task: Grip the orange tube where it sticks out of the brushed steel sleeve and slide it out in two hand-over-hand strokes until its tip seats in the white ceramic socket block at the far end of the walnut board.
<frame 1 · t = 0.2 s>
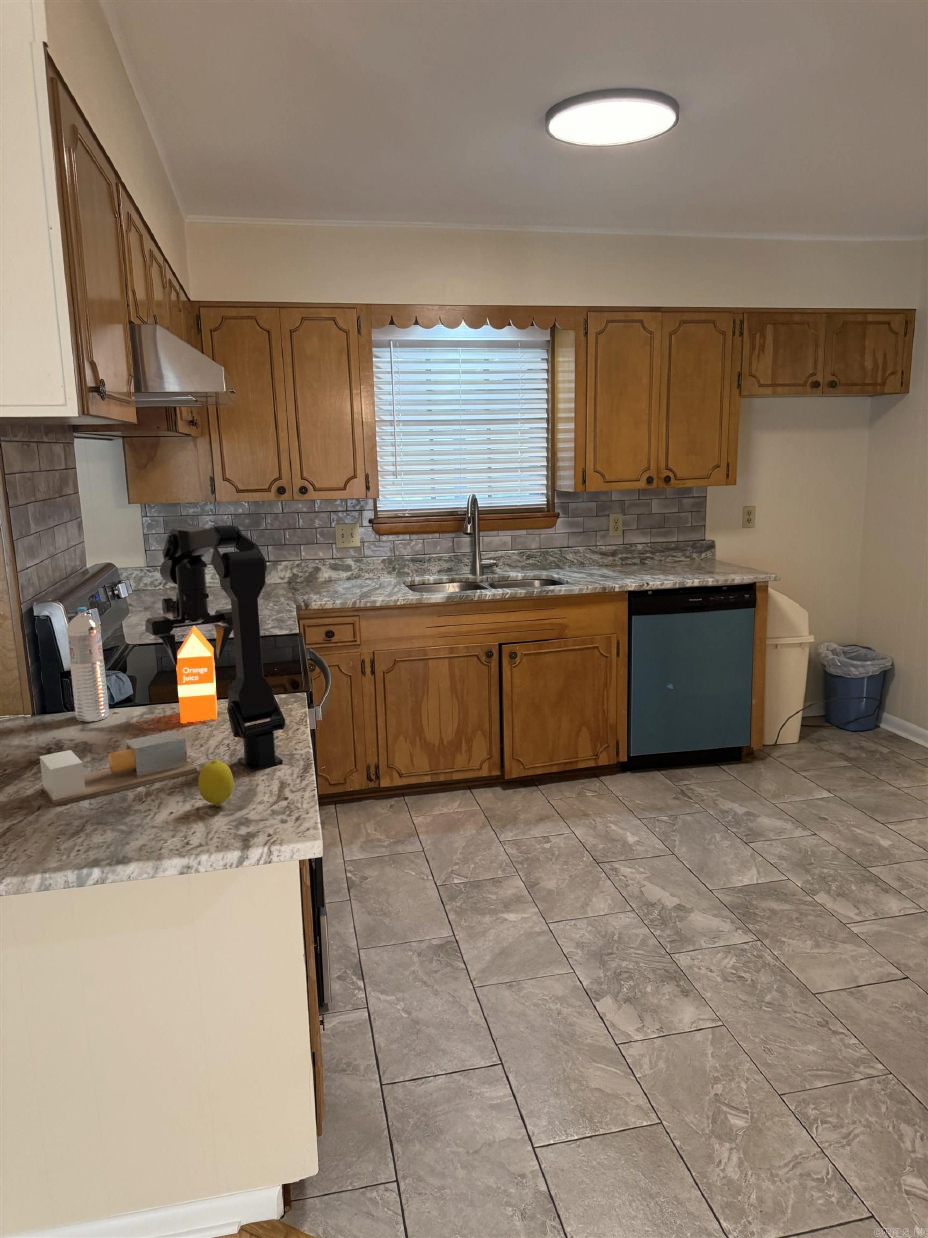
hand: (197, 661, 175), 15 cm above the countertop, tool pointing down, fingers open, 9 cm apart
steel sleeve: (158, 771, 153), resting on walnut board
orange juice: (199, 717, 186), on the countertop
white socket: (64, 793, 143), resting on walnut board
orange tube: (148, 755, 151), point 3 cm above the countertop, slide at 0.0 cm
walnut board: (121, 780, 149), on the countertop
lemon: (217, 807, 138), on the countertop
water bottle: (93, 719, 185), on the countertop
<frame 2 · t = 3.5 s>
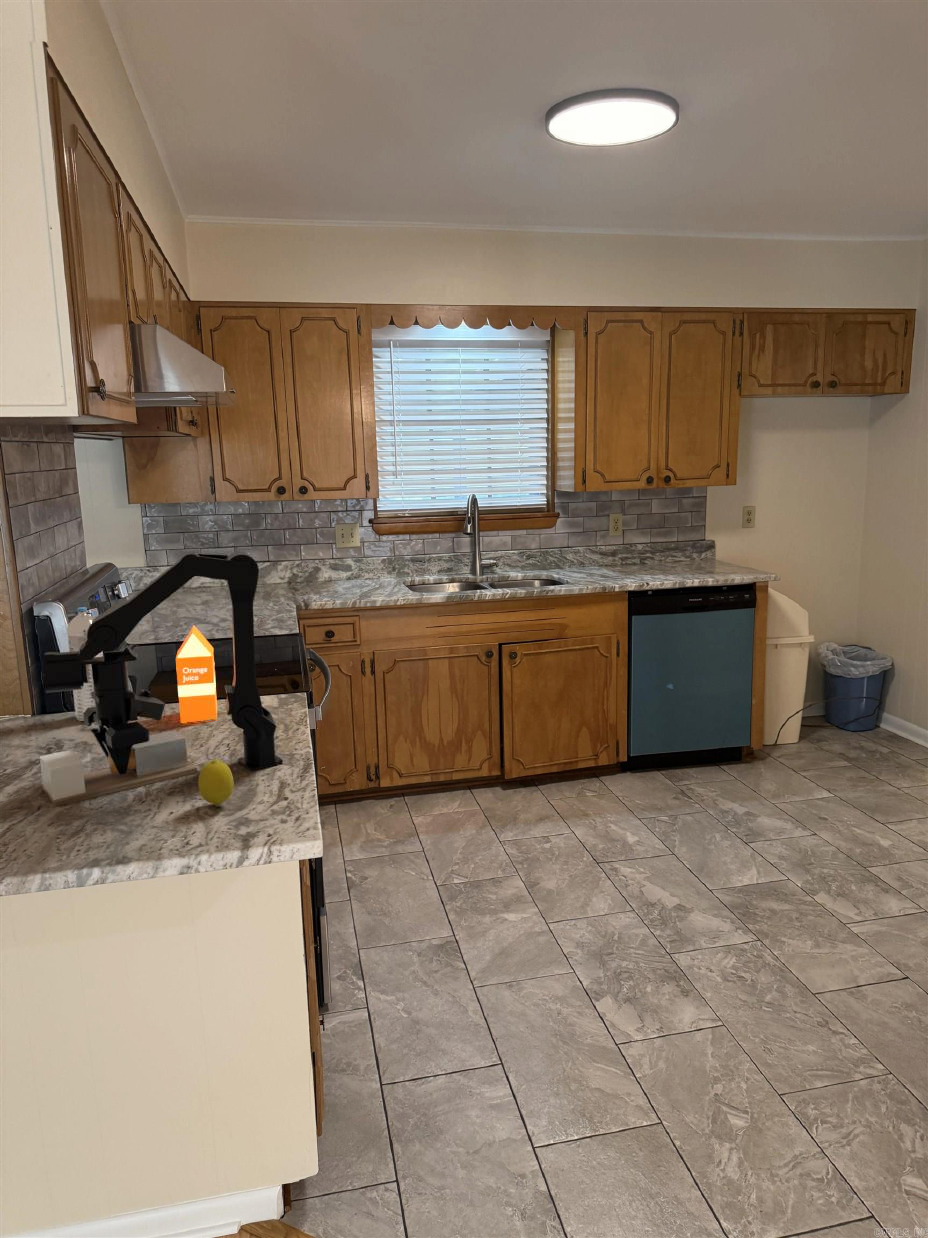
hand: (119, 770, 149), 2 cm above the countertop, tool pointing down, fingers closed on orange tube, 4 cm apart
orange tube: (148, 755, 151), point 4 cm above the countertop, slide at 0.0 cm, touching gripper
everything else where it was.
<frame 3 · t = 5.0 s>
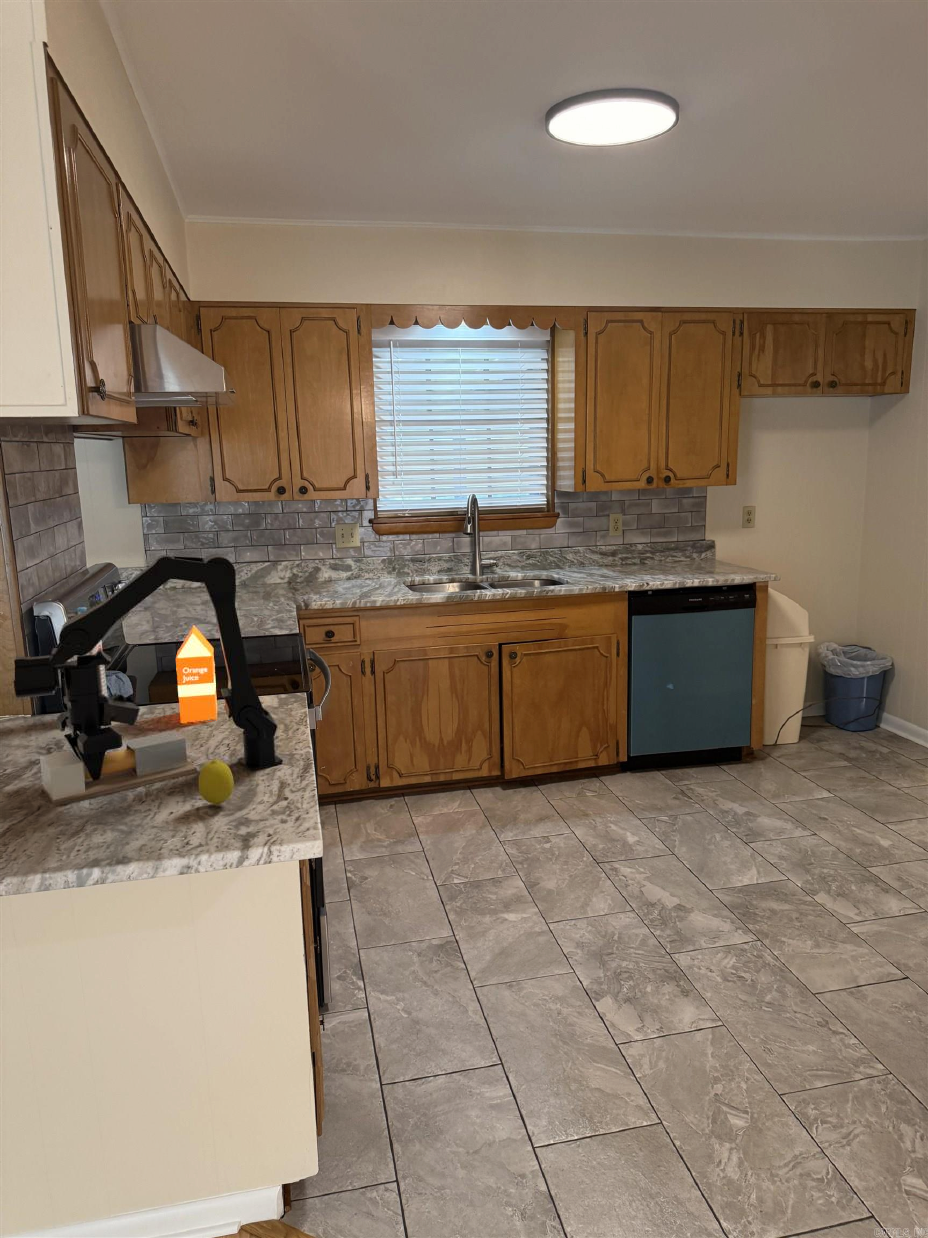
hand: (93, 776, 146), 2 cm above the countertop, tool pointing down, fingers closed on orange tube, 4 cm apart
orange tube: (122, 760, 149), point 3 cm above the countertop, slide at 4.4 cm, touching gripper
everything else where it was.
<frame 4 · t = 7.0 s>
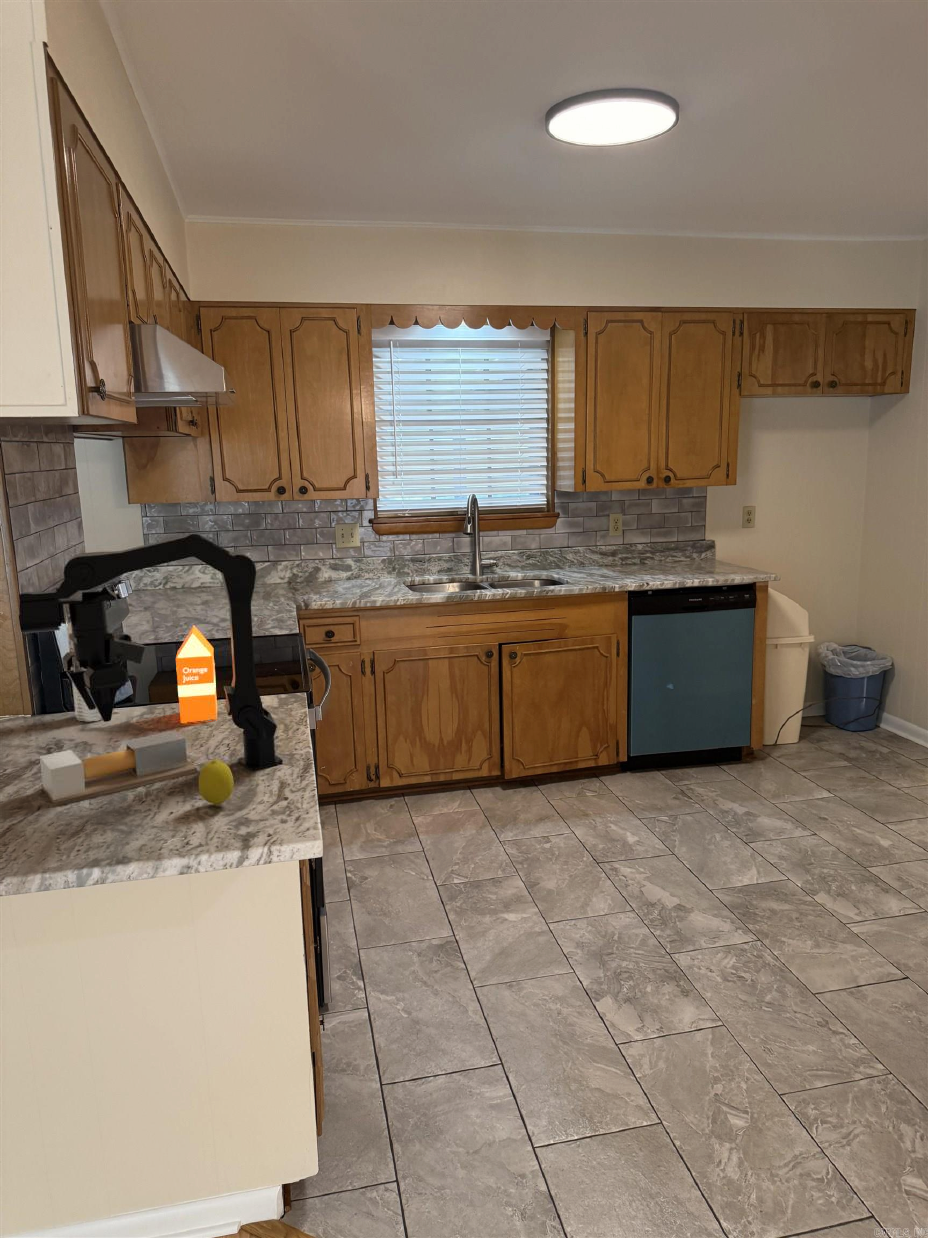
hand: (99, 715, 145), 13 cm above the countertop, tool pointing down, fingers open, 9 cm apart
orange tube: (122, 760, 149), point 3 cm above the countertop, slide at 4.5 cm
everything else where it was.
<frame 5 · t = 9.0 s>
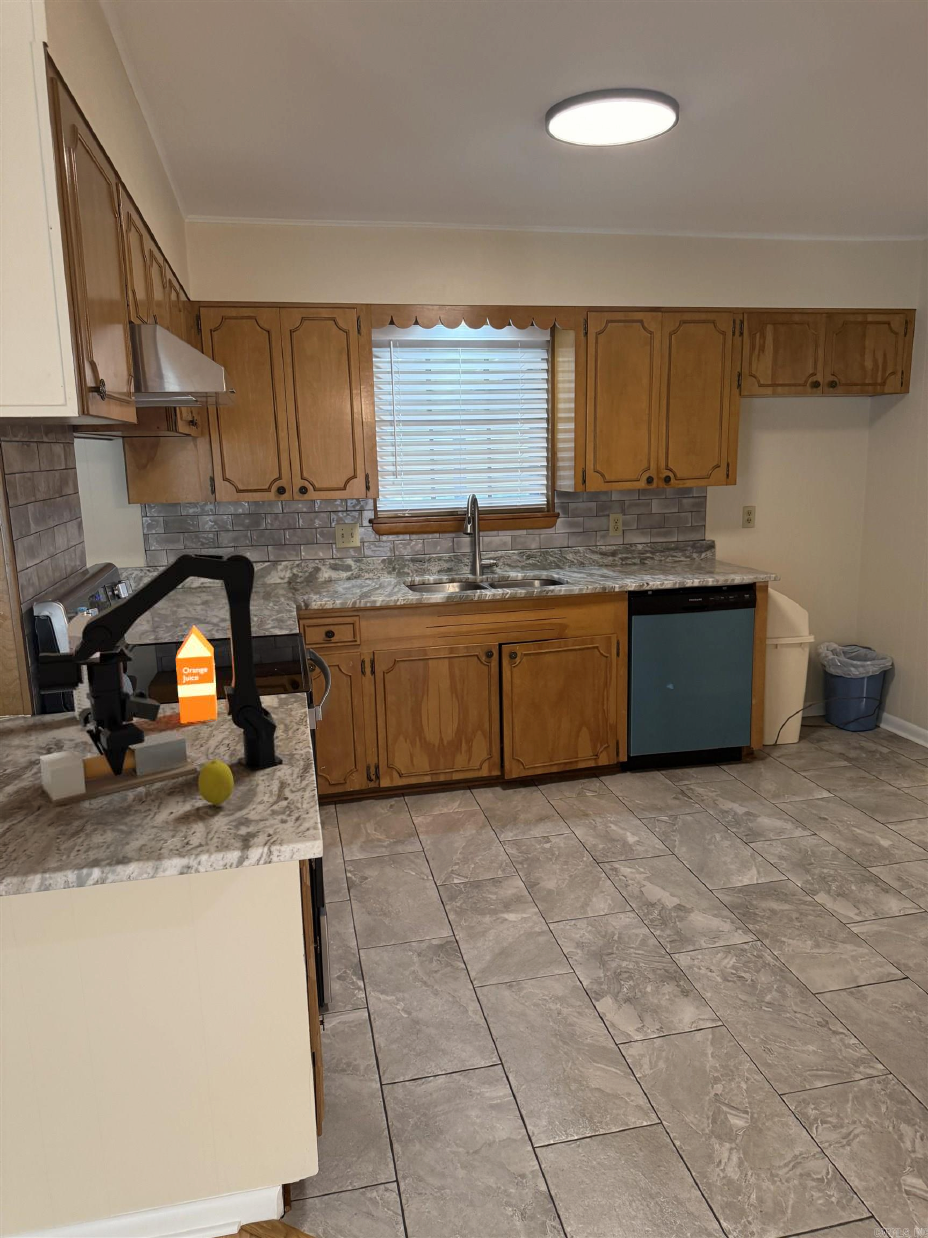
hand: (114, 771, 148), 2 cm above the countertop, tool pointing down, fingers closed on orange tube, 4 cm apart
orange tube: (122, 760, 149), point 3 cm above the countertop, slide at 4.5 cm, touching gripper
everything else where it was.
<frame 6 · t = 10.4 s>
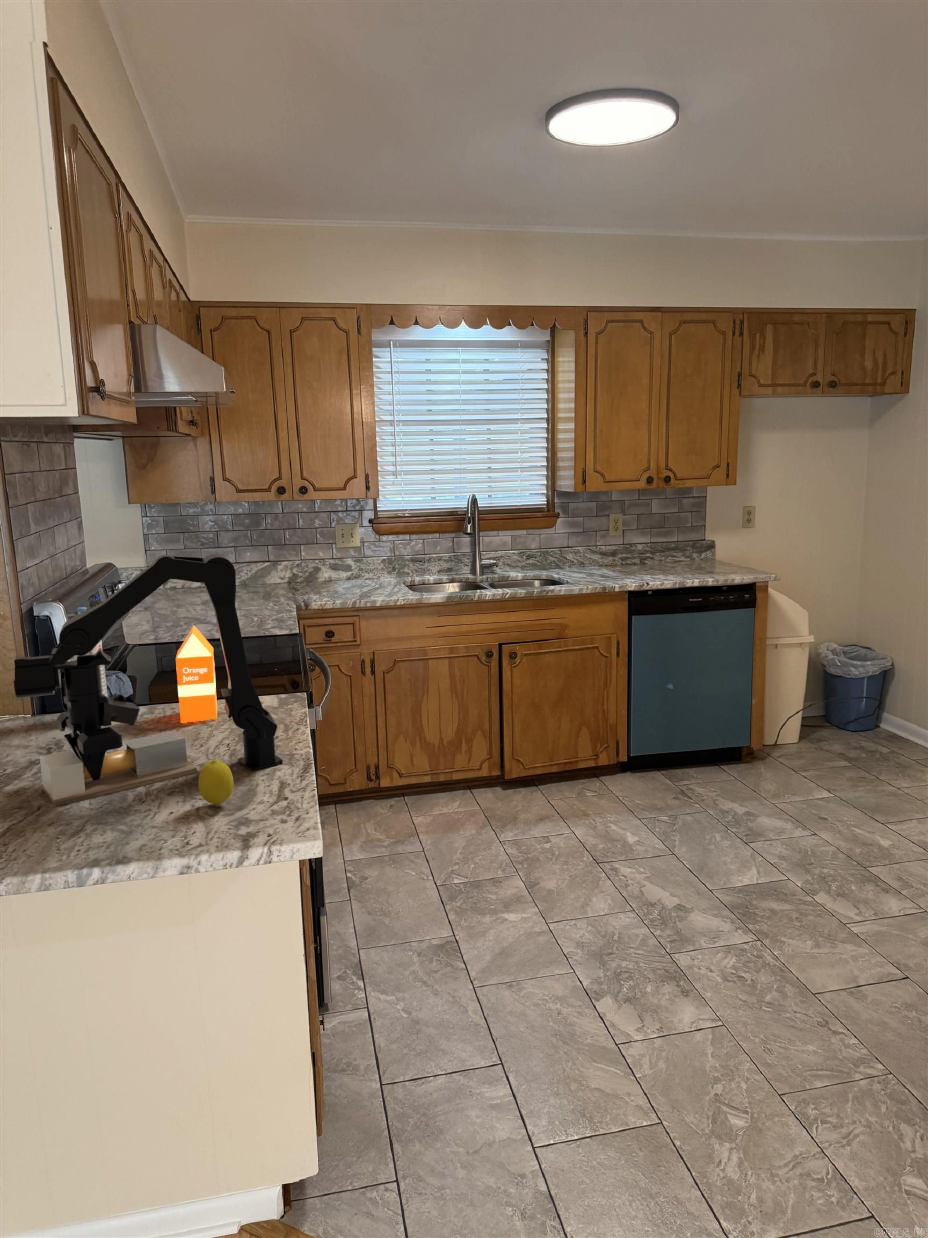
hand: (93, 776, 146), 2 cm above the countertop, tool pointing down, fingers closed on orange tube, 4 cm apart
orange tube: (101, 765, 147), point 3 cm above the countertop, slide at 8.1 cm, touching gripper
everything else where it was.
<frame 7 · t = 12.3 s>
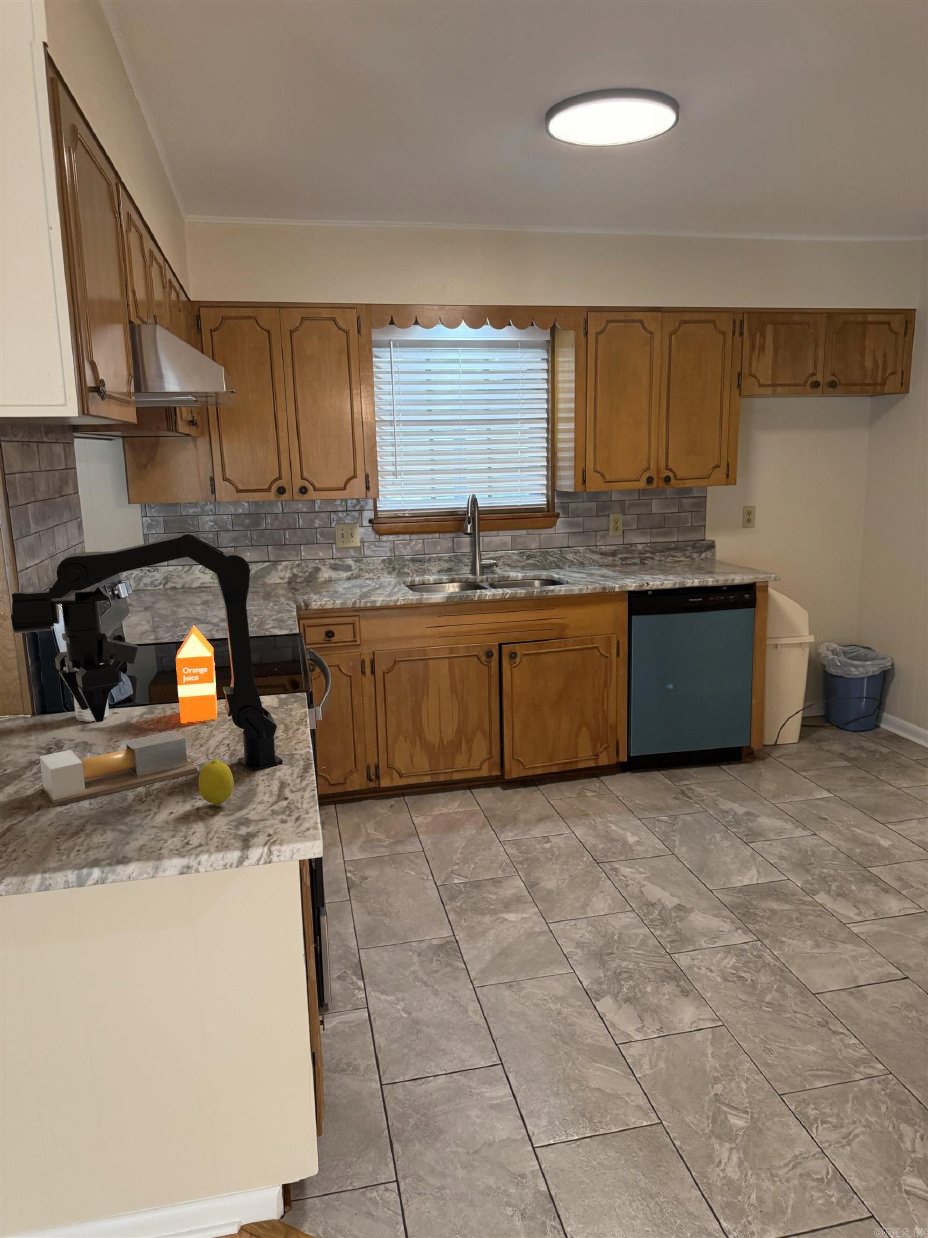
hand: (92, 715, 145), 13 cm above the countertop, tool pointing down, fingers open, 9 cm apart
orange tube: (101, 765, 147), point 3 cm above the countertop, slide at 8.1 cm
everything else where it was.
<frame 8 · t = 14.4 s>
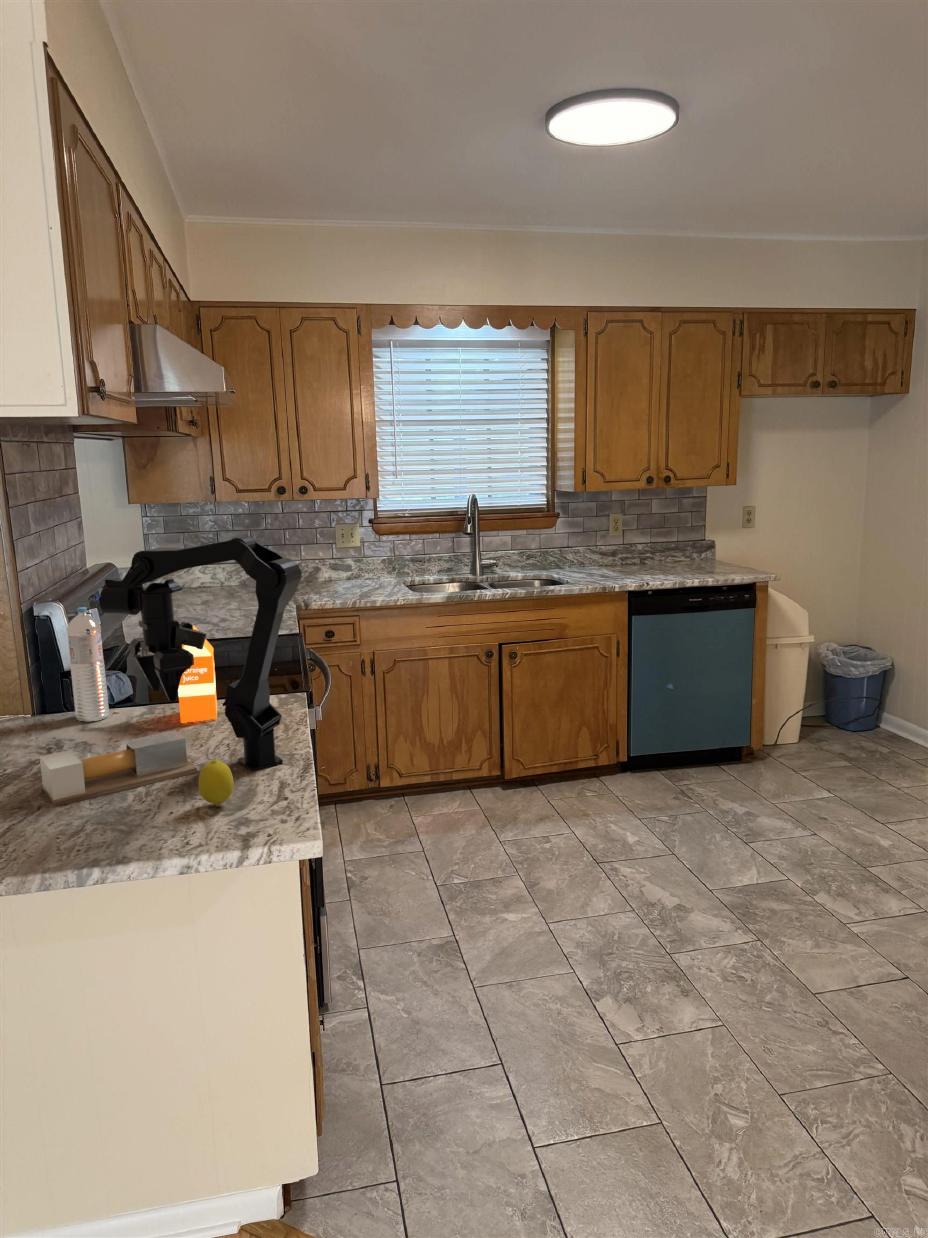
hand: (164, 696, 159), 12 cm above the countertop, tool pointing down, fingers open, 9 cm apart
nothing on the countertop moved.
at the end: orange tube slide at 8.1 cm; the gripper is holding nothing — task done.
